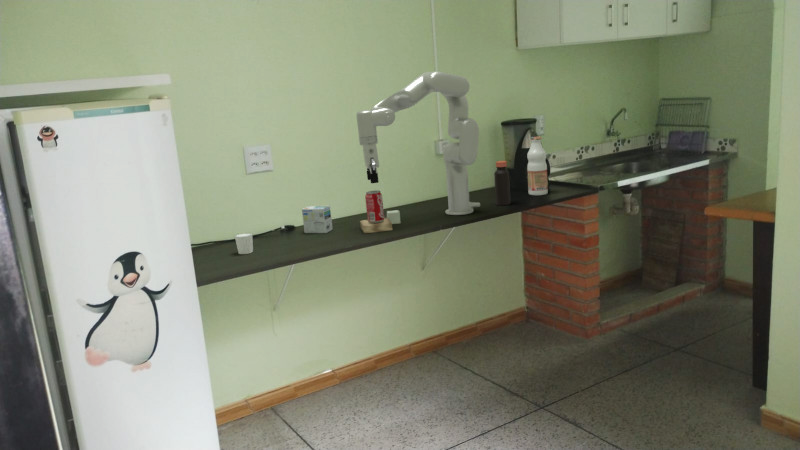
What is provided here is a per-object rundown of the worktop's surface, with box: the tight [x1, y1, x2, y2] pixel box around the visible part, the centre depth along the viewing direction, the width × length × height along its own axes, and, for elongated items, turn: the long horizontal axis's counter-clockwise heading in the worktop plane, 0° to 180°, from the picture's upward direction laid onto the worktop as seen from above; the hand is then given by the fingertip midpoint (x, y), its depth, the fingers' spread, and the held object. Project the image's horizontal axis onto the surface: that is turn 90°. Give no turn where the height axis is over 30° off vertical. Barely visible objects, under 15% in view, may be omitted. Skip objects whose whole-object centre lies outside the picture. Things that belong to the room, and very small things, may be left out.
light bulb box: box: [301, 205, 333, 234], centre depth 294 cm, size 11×7×11 cm, turn 71°
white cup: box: [234, 232, 254, 255], centre depth 268 cm, size 7×7×7 cm
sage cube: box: [386, 209, 402, 225], centre depth 299 cm, size 5×5×5 cm
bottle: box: [494, 160, 511, 207], centre depth 318 cm, size 7×7×20 cm
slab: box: [359, 217, 393, 234], centre depth 291 cm, size 12×12×3 cm
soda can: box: [364, 190, 385, 223], centre depth 288 cm, size 7×7×13 cm
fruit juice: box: [526, 136, 549, 196], centre depth 335 cm, size 9×9×28 cm
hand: (373, 181), depth 287 cm, fingers open, 9 cm apart
